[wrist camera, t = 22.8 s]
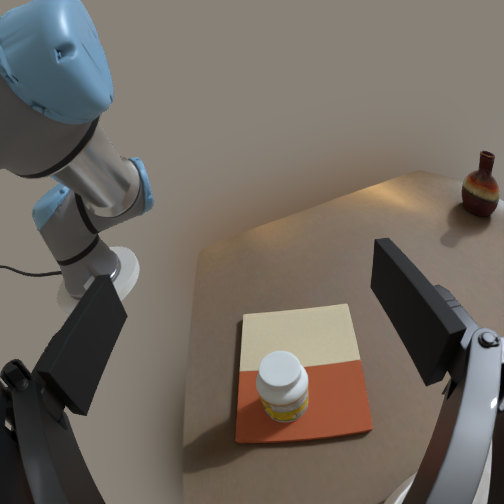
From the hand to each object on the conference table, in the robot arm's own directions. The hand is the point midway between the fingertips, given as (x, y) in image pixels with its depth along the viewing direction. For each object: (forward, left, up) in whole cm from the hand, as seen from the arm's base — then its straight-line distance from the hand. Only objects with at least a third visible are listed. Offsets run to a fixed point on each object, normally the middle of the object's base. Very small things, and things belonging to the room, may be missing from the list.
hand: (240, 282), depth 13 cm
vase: (+53, +42, -26) cm, 73 cm away
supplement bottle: (0, +3, -25) cm, 25 cm away
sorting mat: (+2, +8, -26) cm, 27 cm away
